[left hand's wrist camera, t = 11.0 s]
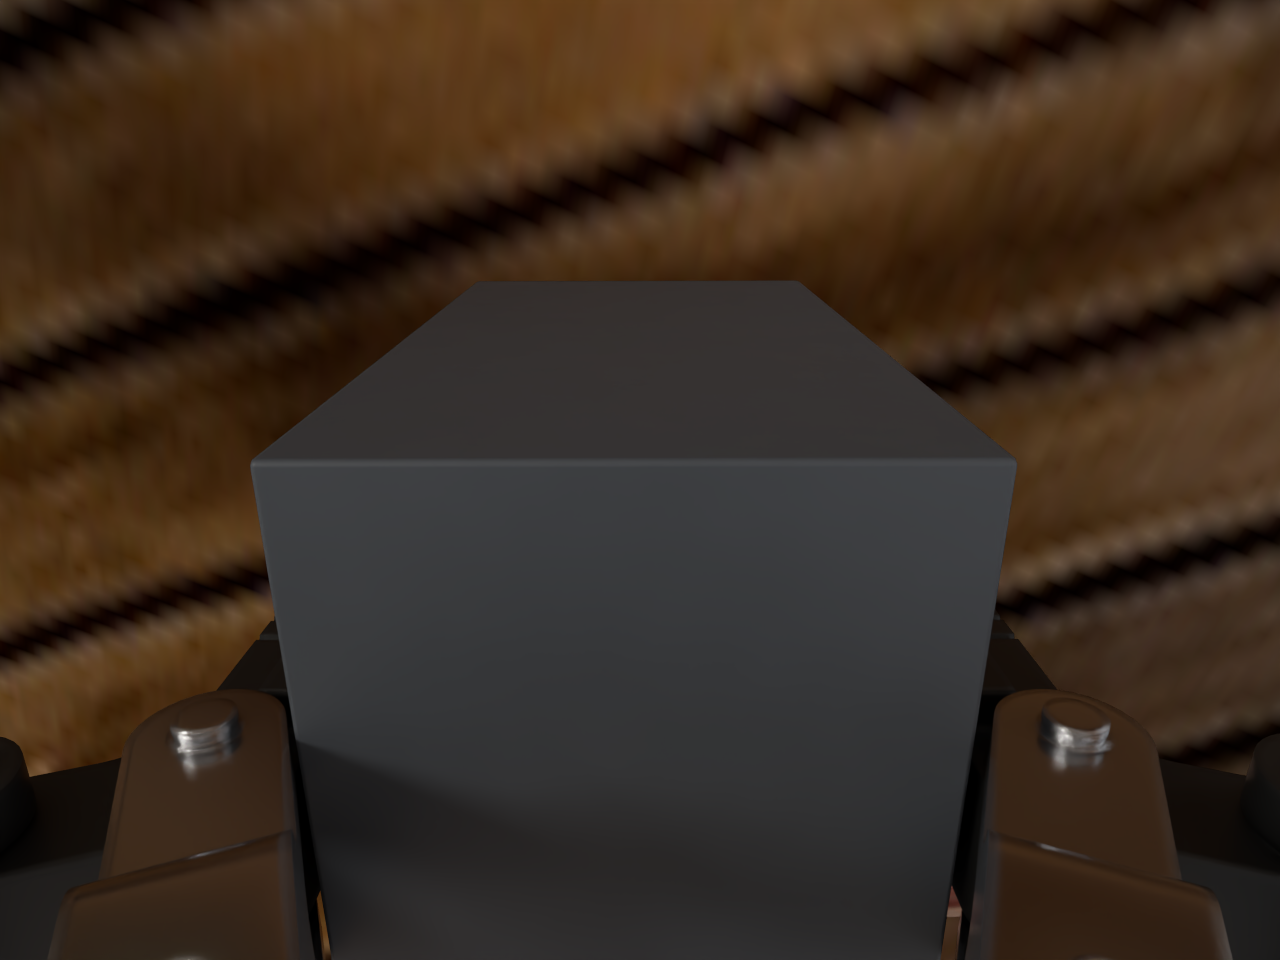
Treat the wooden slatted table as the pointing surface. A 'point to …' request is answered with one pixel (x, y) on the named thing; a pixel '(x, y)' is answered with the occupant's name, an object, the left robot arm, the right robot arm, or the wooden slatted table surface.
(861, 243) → the wooden slatted table surface
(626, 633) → the bar
